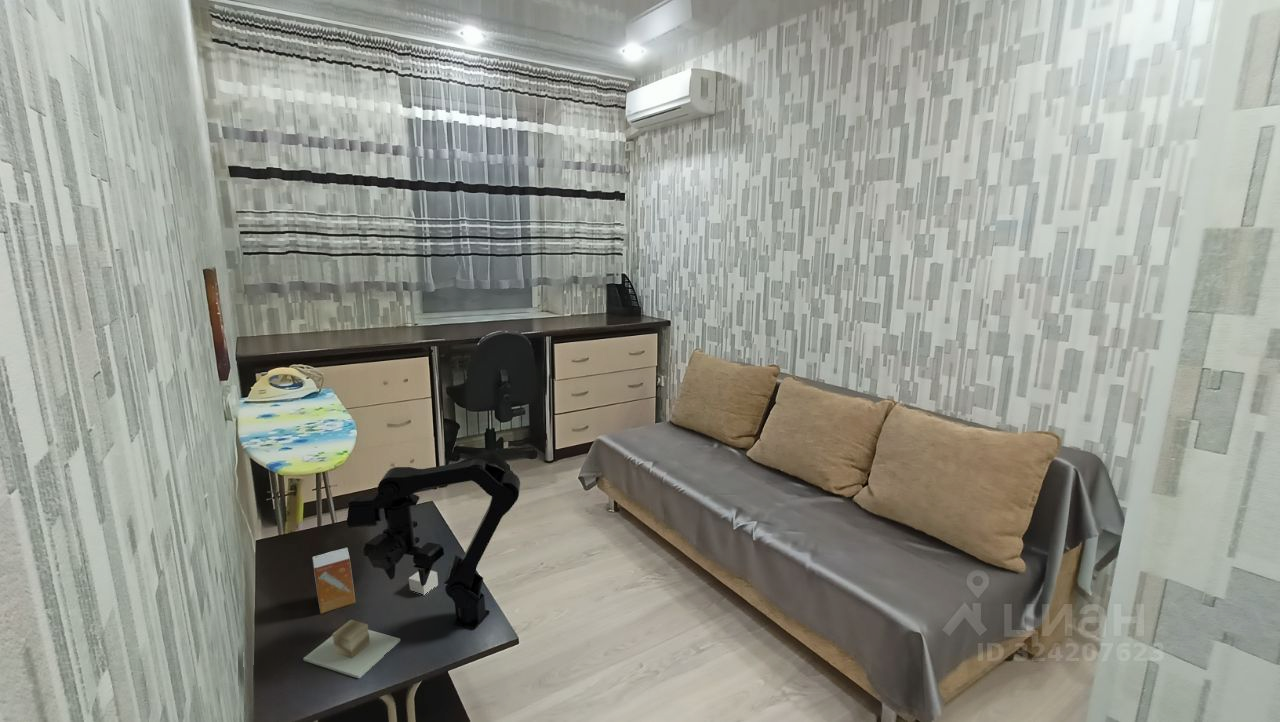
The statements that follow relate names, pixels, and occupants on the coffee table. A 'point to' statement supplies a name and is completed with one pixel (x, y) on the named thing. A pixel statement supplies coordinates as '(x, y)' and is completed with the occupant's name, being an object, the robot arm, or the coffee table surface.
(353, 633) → the tan wooden cube
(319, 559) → the small box
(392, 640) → the mat
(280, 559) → the coffee table surface
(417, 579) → the plastic block
